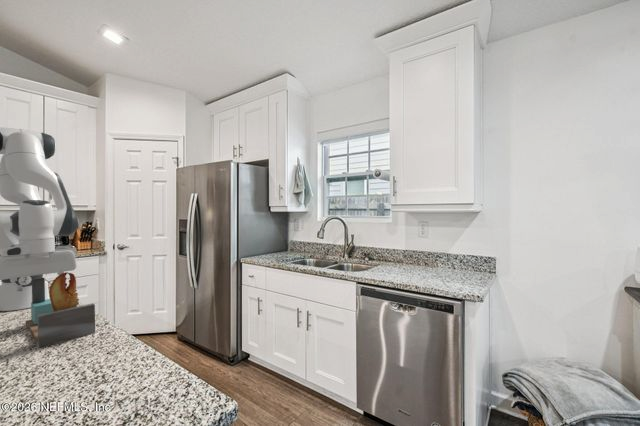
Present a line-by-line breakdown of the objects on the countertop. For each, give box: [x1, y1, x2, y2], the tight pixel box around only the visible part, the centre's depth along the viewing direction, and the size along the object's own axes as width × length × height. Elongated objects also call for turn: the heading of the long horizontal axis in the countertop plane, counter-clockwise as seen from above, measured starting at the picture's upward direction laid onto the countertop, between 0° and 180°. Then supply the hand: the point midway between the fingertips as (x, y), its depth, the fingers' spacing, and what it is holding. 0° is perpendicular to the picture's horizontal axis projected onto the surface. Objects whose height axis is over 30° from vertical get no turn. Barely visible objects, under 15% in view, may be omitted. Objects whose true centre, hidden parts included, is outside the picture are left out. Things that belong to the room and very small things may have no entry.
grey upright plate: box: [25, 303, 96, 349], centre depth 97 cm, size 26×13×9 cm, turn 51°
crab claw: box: [48, 271, 80, 311], centre depth 92 cm, size 7×5×20 cm
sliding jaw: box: [30, 277, 54, 325], centre depth 102 cm, size 7×10×14 cm
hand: (38, 287), depth 100 cm, fingers open, 8 cm apart
